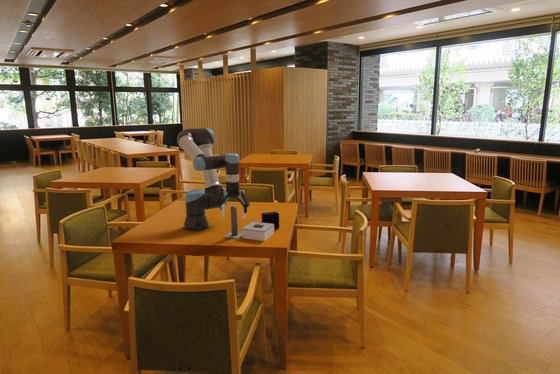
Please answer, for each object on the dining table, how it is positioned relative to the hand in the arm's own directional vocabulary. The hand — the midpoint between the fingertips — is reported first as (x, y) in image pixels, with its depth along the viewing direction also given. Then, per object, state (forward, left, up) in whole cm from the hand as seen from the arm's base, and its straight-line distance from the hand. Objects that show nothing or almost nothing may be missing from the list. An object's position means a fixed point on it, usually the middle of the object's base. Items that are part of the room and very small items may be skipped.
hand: (233, 217), depth 221 cm
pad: (0, 0, -11) cm, 11 cm away
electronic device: (+15, +19, -11) cm, 27 cm away
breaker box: (+13, +5, -11) cm, 18 cm away
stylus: (+1, 0, -11) cm, 11 cm away
